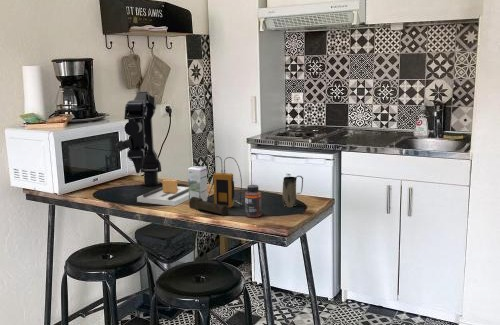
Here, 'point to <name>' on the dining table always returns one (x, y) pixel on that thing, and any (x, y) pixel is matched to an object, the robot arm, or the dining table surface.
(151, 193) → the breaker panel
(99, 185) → the dining table surface
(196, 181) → the syrup box
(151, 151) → the robot arm
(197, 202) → the hand tool
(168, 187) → the lever
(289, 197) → the mug
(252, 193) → the supplement bottle
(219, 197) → the multimeter
